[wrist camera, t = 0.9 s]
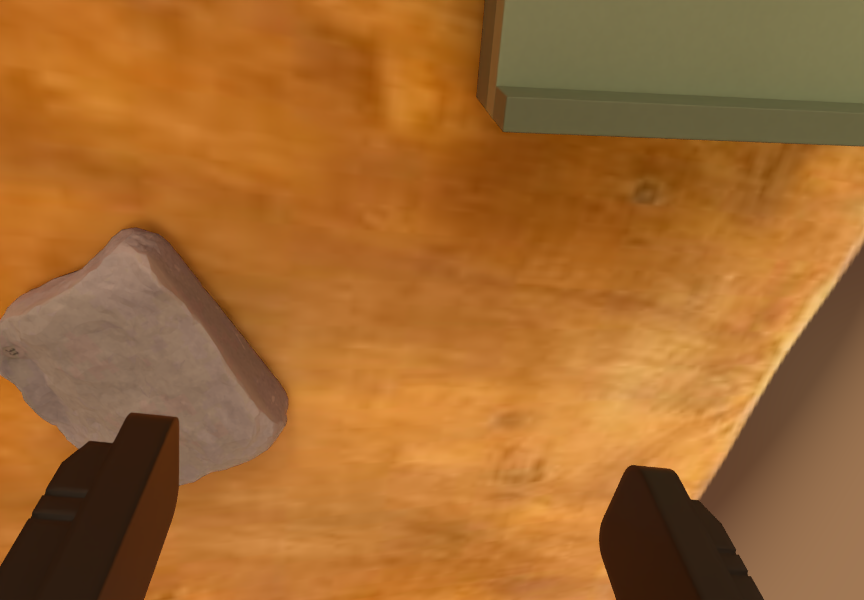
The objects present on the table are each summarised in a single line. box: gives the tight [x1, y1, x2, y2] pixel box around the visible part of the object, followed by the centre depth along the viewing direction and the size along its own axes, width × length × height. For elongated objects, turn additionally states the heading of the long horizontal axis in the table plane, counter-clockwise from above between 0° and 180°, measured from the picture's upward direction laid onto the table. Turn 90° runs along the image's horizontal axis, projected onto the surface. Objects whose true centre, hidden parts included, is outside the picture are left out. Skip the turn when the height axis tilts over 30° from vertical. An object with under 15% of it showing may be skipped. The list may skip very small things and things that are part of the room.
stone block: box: [0, 228, 288, 486], centre depth 31 cm, size 12×5×10 cm
